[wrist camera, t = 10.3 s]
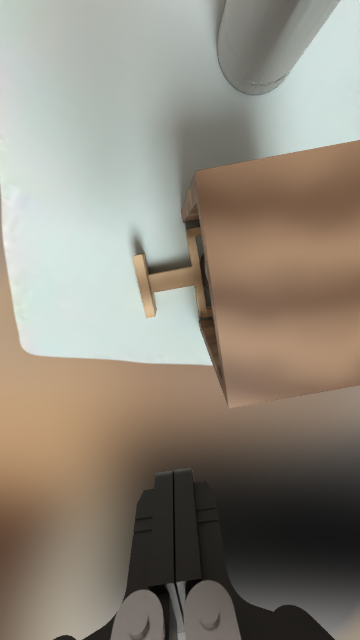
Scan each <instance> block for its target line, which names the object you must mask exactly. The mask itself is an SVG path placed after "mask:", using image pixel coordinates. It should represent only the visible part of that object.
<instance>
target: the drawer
mask: <svg viewBox="0 0 360 640" xmlns="http://www.w3.org/2000/svg"><path fill="white" fill-rule="evenodd" d="M200 235H202V234H201V228H200V227H197V228H191V229H186V236H187V242H188V249H189V255H190V261H191V266H188V267H183V268H177V269H172V270H167V271H161V272H156V273H150V274H149V270H148V266H147V261H146V256H145V253H144V254H139V255H135V256H132V257H133V262H134V266H135V270H136V275H137V279H138V284H139V288H140V293H141V297H142V302H143V306H144V310H145V315H146V318H150V317H155V315H156V310H157V308H156V304H155V299H154V294H153V293H154V292H160V291H165V290H171V289H176V288H182V287H187V286H192V285H194V286H195V292H196V298H197V305H198V311H199V316H200V318H206V317H211V316H213V311H212V306H207V307H206V302H205V296H204V289H203V283H202V276H201V269H200V263H199V256H198V249H197V243H196V236H200Z"/></svg>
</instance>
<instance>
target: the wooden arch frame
mask: <svg viewBox="0 0 360 640" xmlns="http://www.w3.org/2000/svg"><path fill="white" fill-rule="evenodd" d="M181 213H182V219H183V223H184V222H189V221H194V220H199V221H200V228H201V234H202V241H203V248H204V255H205V262H206V269H207V276H208V283H209V290H210V297H211V304H212V311H213V318H214V319H208V320H203V321H199V324H200V331H201V333H202V336H203V339H204V342H205V344H206V347H207V350H208V352H209V355H210V358H211V361H212V363H213V366H214V369H215V372H216V374H217V377H218V380H219V383H220V385H221V388H222V391H223V393H224V396H225V399H226V402H227V404H228V407H229V408H234V407H240V406H245V405H251V404H256V403H262V402H268V401H274V400H279V399H285V398H290V397H296V396H302V395H307V394H313V393H319V392H324V391H329V390H335V389H341V388H346V387H352V386H358V385H360V140H358V141H352V142H347V143H342V144H336V145H331V146H326V147H320V148H315V149H310V150H304V151H299V152H294V153H288V154H283V155H278V156H272V157H267V158H262V159H256V160H251V161H246V162H240V163H235V164H230V165H224V166H219V167H214V168H208V169H203V170H198V171H195V174H194V177H193V179H192V182H191V185H190V187H189V190H188V193H187V196H186V198H185V201H184V204H183V207H182V209H181Z"/></svg>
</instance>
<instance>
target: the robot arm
mask: <svg viewBox="0 0 360 640" xmlns="http://www.w3.org/2000/svg"><path fill="white" fill-rule="evenodd" d="M339 2H340V0H226V3H225V8H224V12H223V16H222V21H221V25H220V30H219V34H218V42H217V51H218V59H219V63H220V66H221V69H222V71H223V73H224V75H225V77H226V78H227V80H228V81H229V82H230V84H231V85H233V86H234V87H235V88H236V89H237V90H239V91H241V92H244V93H246V94H251V95H257V94H263V93H267V92H269V91H271V90H273V89H274V88H276V87H277V86H278V85H279V84H280V83H281V82H283V81H284V79H285V78H286V76H287V75H288V74H289V72H290V71H291V69H292V68H293V67H294V65H295V64H296V62H297V61H298V60H299V58H300V57H301V55H302V54H303V53H304V51H305V50H306V49H307V47H308V46H309V44H310V43H311V41H312V40H313V39H314V37H315V36H316V34H317V33H318V32H319V30H320V29H321V27H322V26H323V24H324V23H325V22H326V20H327V19H328V17H329V16H330V15H331V13H332V12H333V10H334V9H335V7H336V6H337V5H338V3H339ZM180 632H185V637H186V640H335V639H334V638H333V637H332V636H331V635H330V634H329V633H328V632H327V631H326V630H325V629H323V627H321V625H320V624H319V623H317V621H316V620H314V619H313V618H312V617H311V616H310V615H309V614H308V613H307V612H306V611H304V610H303V609H301V608H299V607H297V606H293V605H283V606H281V607H279V608H277V609H276V610H275V611H274V612H272V611H270V610H266V609H263V608H260V607H257V606H254V605H252V604H249V603H248V602H246V601H245V600H243V599H242V598H241V597H240V596H239V595H238V594H237V592H236V591H235V589H234V588H233V586H232V584H231V582H230V580H229V577H228V573H227V567H226V561H225V556H224V550H223V545H222V539H221V534H220V527H219V522H218V515H217V511H216V504H215V498H214V493H213V491H212V489H211V488H210V486H209V485H208V483H207V482H206V481H204V482H197V483H194V478H193V472H192V468H188V469H181V470H175V471H169V472H162V473H156V475H155V487H154V489H151V490H144V491H143V493H142V495H141V497H140V499H139V501H138V503H137V509H136V517H135V525H134V536H133V541H132V549H131V557H130V565H129V573H128V580H127V588H126V593H125V596H124V599H123V602H122V604H121V606H120V608H119V610H118V611H117V613H116V614H115V616H114V617H113V618H112V619H111V620H110V621H109V622H108V623H107V624H106V625H105V626H103V627H102V628H101V629H99V630H97V631H96V632H94V633H93V634H91V635H89V636H88V637H86V638H85V639H83V640H178V638H177V633H180ZM54 640H76V639H75V638H73V637H72V636H69V635H63V636H60V637H57V638H56V639H54Z"/></svg>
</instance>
